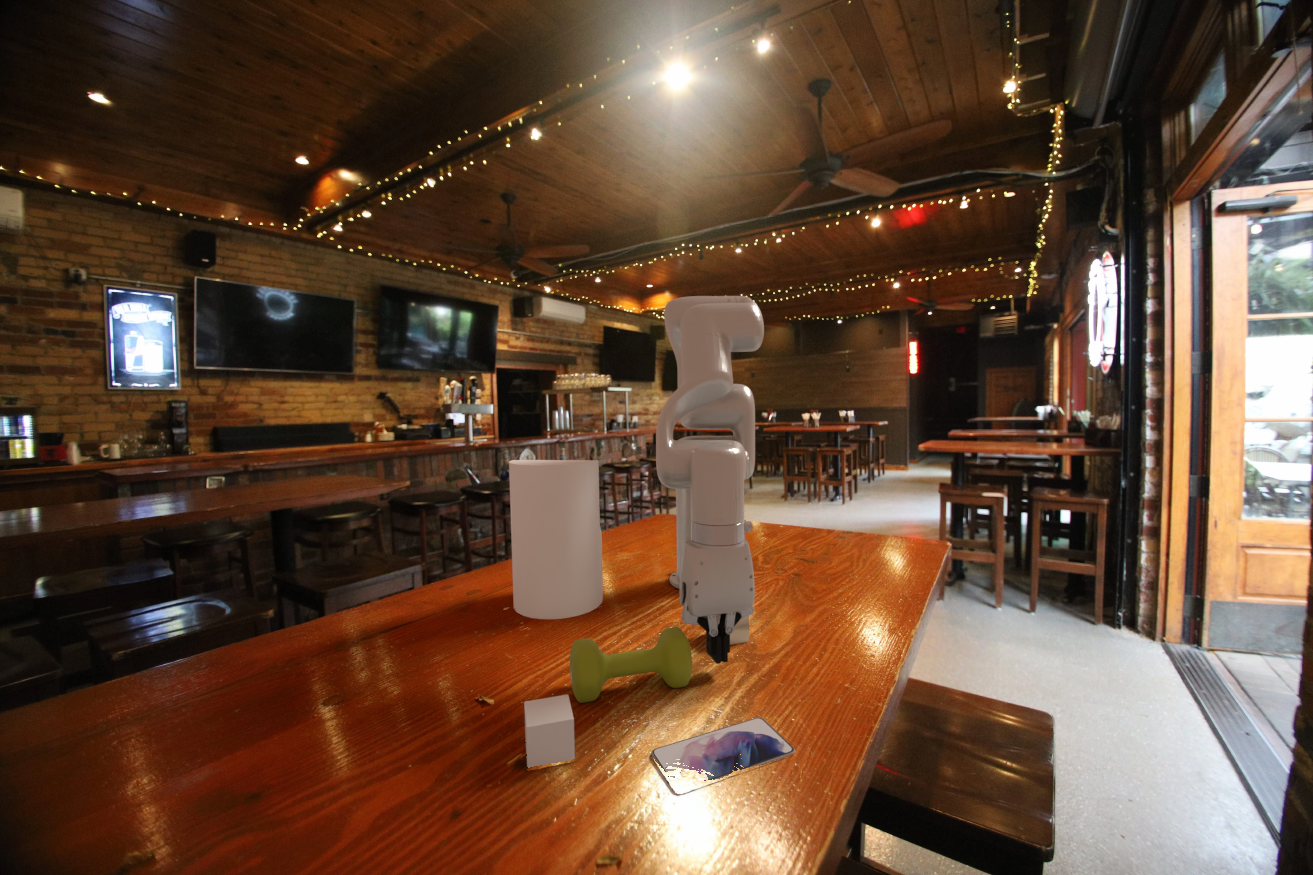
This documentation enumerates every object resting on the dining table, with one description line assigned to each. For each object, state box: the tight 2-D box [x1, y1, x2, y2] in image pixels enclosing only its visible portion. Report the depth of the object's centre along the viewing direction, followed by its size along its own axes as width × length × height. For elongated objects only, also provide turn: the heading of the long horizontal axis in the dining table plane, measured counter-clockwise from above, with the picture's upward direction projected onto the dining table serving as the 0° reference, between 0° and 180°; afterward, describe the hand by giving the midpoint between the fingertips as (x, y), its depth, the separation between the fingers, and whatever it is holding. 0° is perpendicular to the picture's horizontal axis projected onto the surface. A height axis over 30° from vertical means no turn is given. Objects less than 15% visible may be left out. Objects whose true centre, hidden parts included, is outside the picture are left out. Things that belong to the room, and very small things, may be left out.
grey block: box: [523, 693, 576, 768], centre depth 59 cm, size 5×5×5 cm
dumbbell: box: [569, 626, 693, 704], centre depth 72 cm, size 16×8×7 cm, turn 104°
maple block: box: [716, 615, 750, 646], centre depth 87 cm, size 5×5×5 cm
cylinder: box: [508, 459, 604, 620], centre depth 103 cm, size 17×17×28 cm
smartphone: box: [650, 717, 796, 781], centre depth 58 cm, size 7×1×15 cm
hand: (718, 658), depth 75 cm, fingers closed
